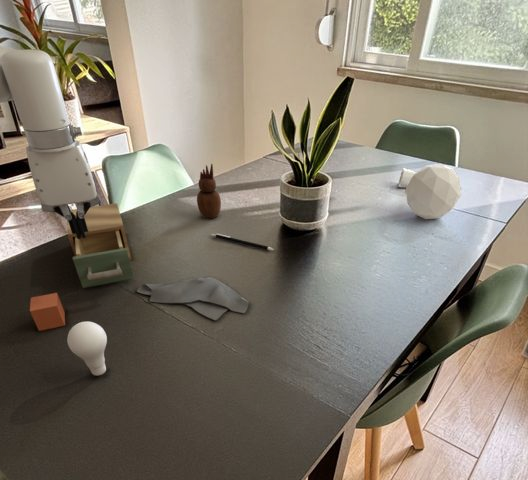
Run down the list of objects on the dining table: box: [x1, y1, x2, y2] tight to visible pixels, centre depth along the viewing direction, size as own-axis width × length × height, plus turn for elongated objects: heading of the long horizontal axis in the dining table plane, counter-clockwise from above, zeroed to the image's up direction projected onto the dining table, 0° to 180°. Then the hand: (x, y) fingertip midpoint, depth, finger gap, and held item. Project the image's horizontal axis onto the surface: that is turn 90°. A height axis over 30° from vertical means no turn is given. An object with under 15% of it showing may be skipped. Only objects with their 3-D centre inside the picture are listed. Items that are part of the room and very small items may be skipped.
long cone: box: [397, 168, 418, 188], centre depth 139 cm, size 6×6×19 cm
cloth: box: [136, 276, 250, 321], centre depth 94 cm, size 26×14×2 cm, turn 63°
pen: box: [211, 233, 275, 251], centre depth 112 cm, size 1×19×1 cm, turn 62°
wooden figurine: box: [196, 163, 222, 219], centre depth 122 cm, size 7×6×15 cm
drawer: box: [72, 230, 135, 289], centre depth 98 cm, size 18×11×7 cm, turn 20°
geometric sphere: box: [405, 162, 462, 220], centre depth 120 cm, size 14×15×15 cm
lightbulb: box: [66, 321, 108, 377], centre depth 73 cm, size 6×6×11 cm
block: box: [29, 292, 66, 332], centre depth 87 cm, size 5×5×5 cm
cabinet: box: [66, 203, 133, 261], centre depth 108 cm, size 15×13×9 cm
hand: (81, 235), depth 86 cm, fingers closed
